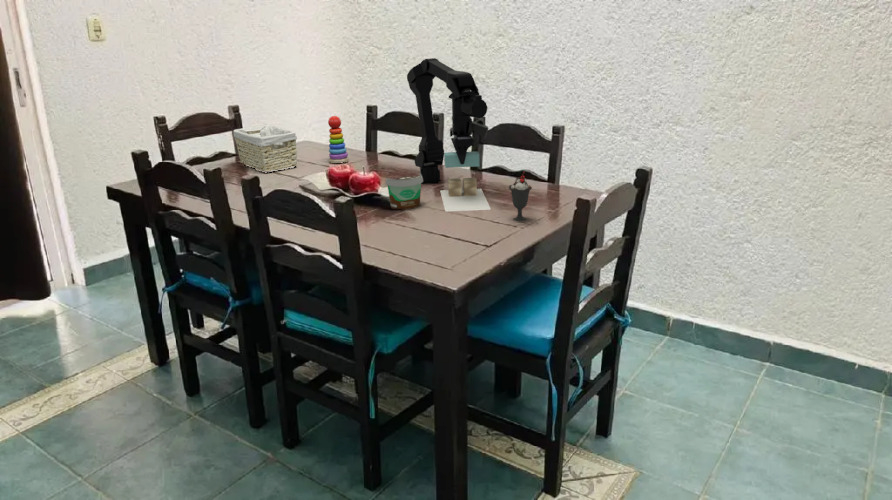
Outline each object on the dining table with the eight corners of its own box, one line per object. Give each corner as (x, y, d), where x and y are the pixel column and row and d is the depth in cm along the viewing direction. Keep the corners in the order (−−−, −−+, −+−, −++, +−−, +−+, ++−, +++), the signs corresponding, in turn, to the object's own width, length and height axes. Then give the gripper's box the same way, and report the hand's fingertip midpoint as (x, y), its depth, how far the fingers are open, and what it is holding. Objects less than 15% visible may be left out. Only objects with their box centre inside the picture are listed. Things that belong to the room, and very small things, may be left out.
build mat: (445, 212, 199) (445, 211, 198) (440, 191, 221) (440, 190, 221) (491, 210, 199) (491, 209, 199) (481, 189, 222) (481, 188, 222)
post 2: (464, 196, 214) (464, 181, 212) (463, 192, 217) (463, 178, 216) (476, 195, 214) (476, 180, 212) (475, 192, 218) (475, 177, 216)
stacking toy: (335, 159, 270) (331, 114, 264) (352, 160, 268) (348, 114, 261) (325, 163, 264) (321, 117, 257) (343, 165, 261) (339, 117, 254)
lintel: (445, 167, 210) (445, 155, 208) (444, 164, 214) (444, 152, 212) (479, 166, 211) (479, 154, 209) (477, 163, 214) (477, 151, 213)
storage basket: (301, 168, 258) (297, 131, 253) (264, 175, 248) (259, 137, 242) (272, 159, 275) (268, 123, 269) (236, 165, 264) (231, 129, 259)
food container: (394, 214, 199) (392, 182, 195) (386, 208, 204) (384, 177, 200) (430, 207, 204) (429, 176, 200) (422, 202, 209) (421, 172, 206)
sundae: (525, 225, 186) (526, 174, 180) (504, 221, 189) (504, 171, 184) (535, 219, 191) (536, 168, 186) (514, 215, 194) (515, 166, 189)
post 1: (449, 196, 213) (449, 181, 212) (448, 193, 217) (448, 178, 215) (461, 196, 214) (461, 181, 212) (460, 192, 217) (460, 178, 216)
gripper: (490, 118, 198) (490, 168, 204) (482, 108, 215) (482, 155, 221) (453, 119, 197) (454, 169, 203) (449, 109, 215) (450, 156, 220)
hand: (461, 162), depth 212 cm, fingers closed on lintel, 4 cm apart
